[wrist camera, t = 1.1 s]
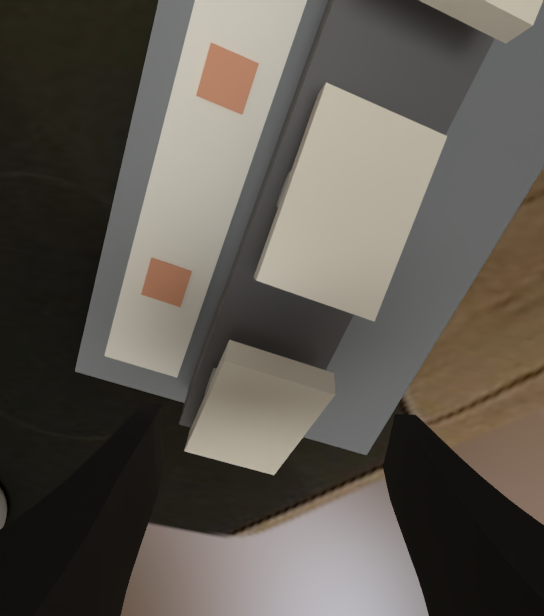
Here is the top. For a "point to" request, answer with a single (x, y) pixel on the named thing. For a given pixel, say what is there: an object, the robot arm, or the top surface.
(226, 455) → the switch far
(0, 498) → the milk bottle
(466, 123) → the switch panel
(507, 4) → the switch near
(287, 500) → the top surface
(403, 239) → the switch middle
